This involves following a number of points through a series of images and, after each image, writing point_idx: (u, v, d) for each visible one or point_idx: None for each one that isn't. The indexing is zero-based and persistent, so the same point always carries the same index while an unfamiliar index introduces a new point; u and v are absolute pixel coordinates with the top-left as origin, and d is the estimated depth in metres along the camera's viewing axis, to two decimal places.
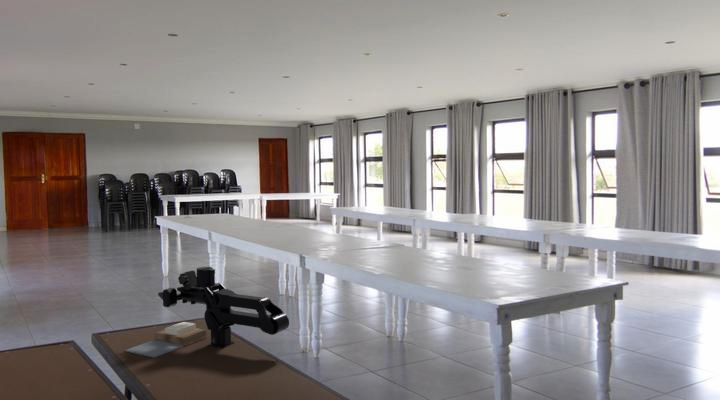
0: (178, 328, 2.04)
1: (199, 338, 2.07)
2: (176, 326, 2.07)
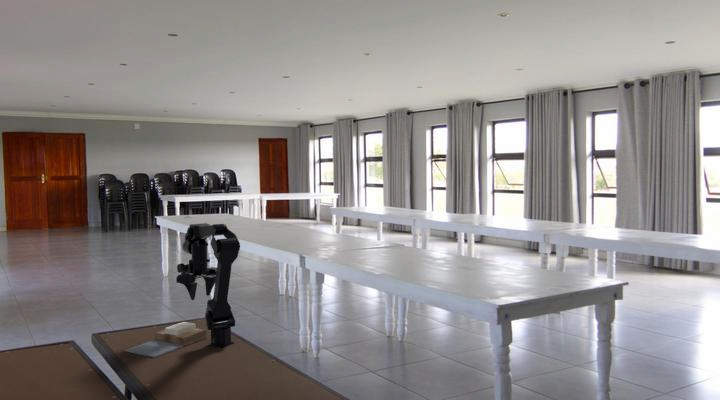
0: (178, 328, 2.04)
1: (199, 338, 2.07)
2: (176, 326, 2.07)
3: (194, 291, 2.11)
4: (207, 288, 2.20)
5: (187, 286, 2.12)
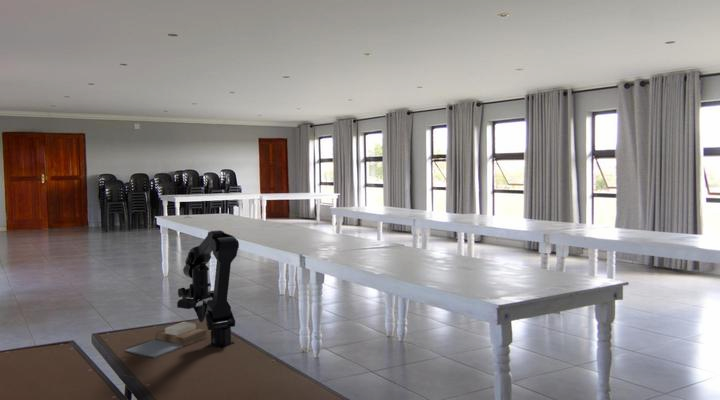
0: (178, 328, 2.04)
1: (199, 338, 2.07)
2: (176, 326, 2.07)
3: (202, 313, 2.15)
4: None
5: (195, 308, 2.16)
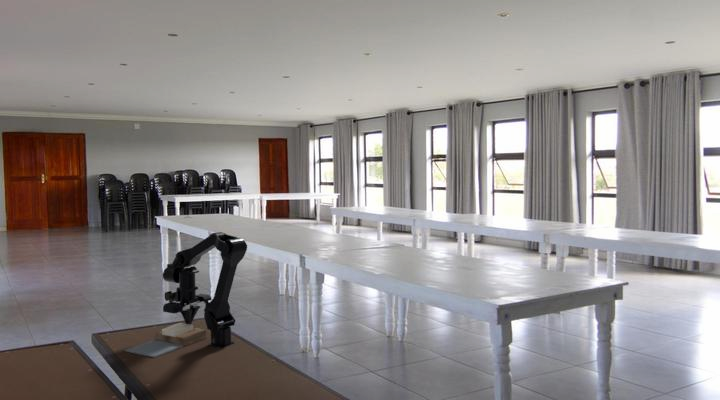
0: (176, 329, 2.03)
1: (199, 338, 2.07)
2: (173, 327, 2.06)
3: (189, 317, 2.10)
4: None
5: (182, 312, 2.10)
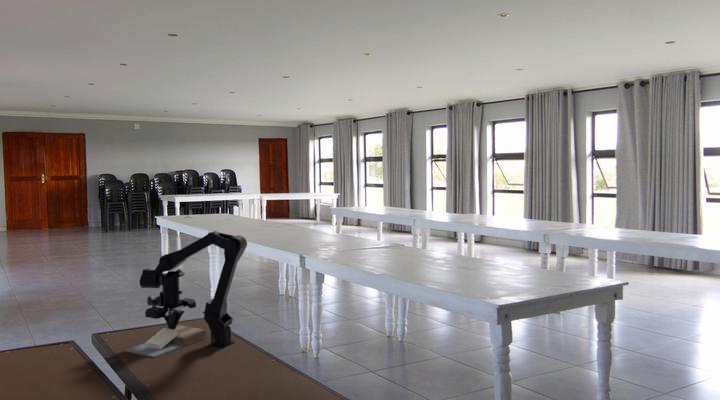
0: (160, 341, 1.96)
1: (199, 338, 2.07)
2: (157, 338, 1.99)
3: (173, 323, 2.03)
4: None
5: (165, 317, 2.03)
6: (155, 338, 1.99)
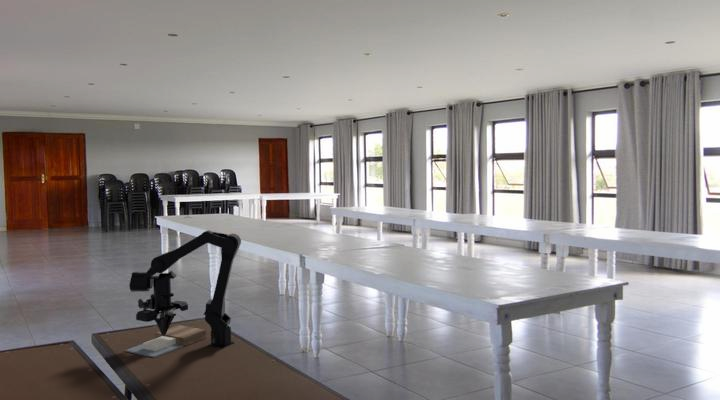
0: (157, 343, 1.95)
1: (199, 338, 2.07)
2: (155, 341, 1.98)
3: (164, 326, 1.99)
4: None
5: (157, 320, 2.00)
6: (153, 341, 1.98)
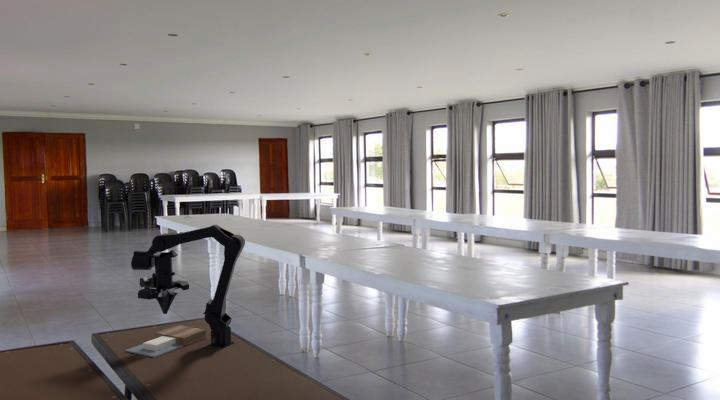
0: (157, 343, 1.95)
1: (199, 338, 2.07)
2: (155, 341, 1.98)
3: (166, 304, 2.00)
4: None
5: (158, 299, 2.00)
6: (153, 341, 1.98)
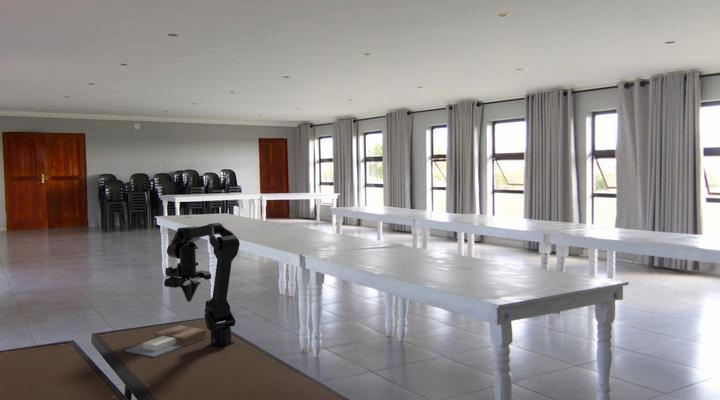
0: (157, 343, 1.95)
1: (199, 338, 2.07)
2: (155, 341, 1.98)
3: (190, 293, 2.14)
4: None
5: (183, 288, 2.14)
6: (153, 341, 1.98)
